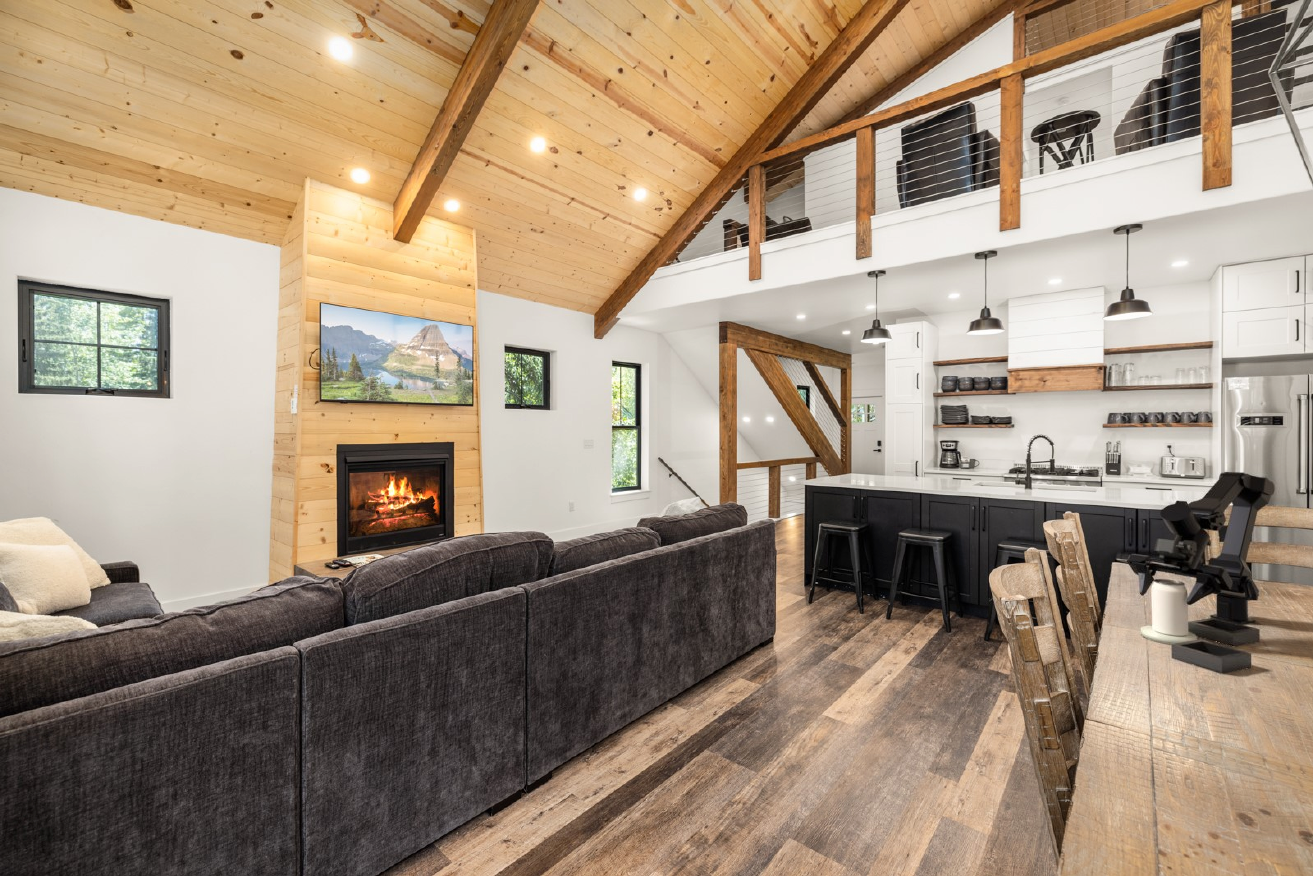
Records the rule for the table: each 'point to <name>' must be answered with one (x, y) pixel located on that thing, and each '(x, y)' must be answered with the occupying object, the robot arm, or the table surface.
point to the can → (1169, 607)
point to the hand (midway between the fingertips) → (1164, 599)
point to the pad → (1165, 636)
